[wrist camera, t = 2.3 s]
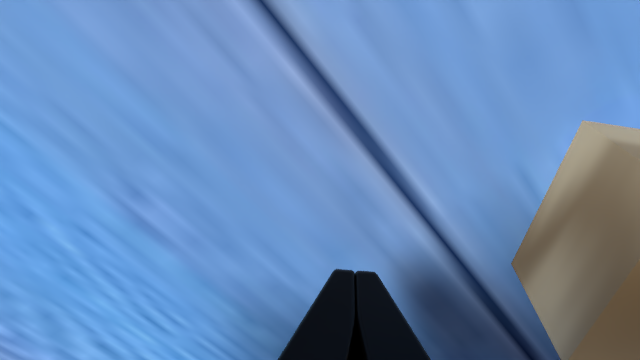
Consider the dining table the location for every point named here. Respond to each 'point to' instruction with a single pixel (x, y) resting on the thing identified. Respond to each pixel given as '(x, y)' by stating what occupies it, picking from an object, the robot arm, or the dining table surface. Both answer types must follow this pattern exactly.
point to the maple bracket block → (589, 248)
